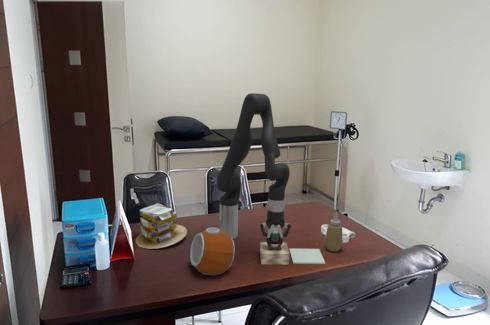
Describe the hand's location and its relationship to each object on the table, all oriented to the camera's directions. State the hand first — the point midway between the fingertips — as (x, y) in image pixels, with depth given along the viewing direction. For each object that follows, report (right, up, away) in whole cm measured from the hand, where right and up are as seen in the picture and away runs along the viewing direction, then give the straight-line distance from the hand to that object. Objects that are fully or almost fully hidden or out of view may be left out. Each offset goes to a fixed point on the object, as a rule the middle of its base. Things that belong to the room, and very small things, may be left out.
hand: (274, 244), depth 175 cm
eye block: (0, -6, +1) cm, 6 cm away
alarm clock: (-27, -8, -9) cm, 30 cm away
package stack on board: (-54, -1, +19) cm, 57 cm away
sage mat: (+15, -6, +4) cm, 16 cm away
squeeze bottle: (+29, -5, +12) cm, 31 cm away
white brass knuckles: (+34, -2, +29) cm, 45 cm away
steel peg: (0, -6, +1) cm, 6 cm away
